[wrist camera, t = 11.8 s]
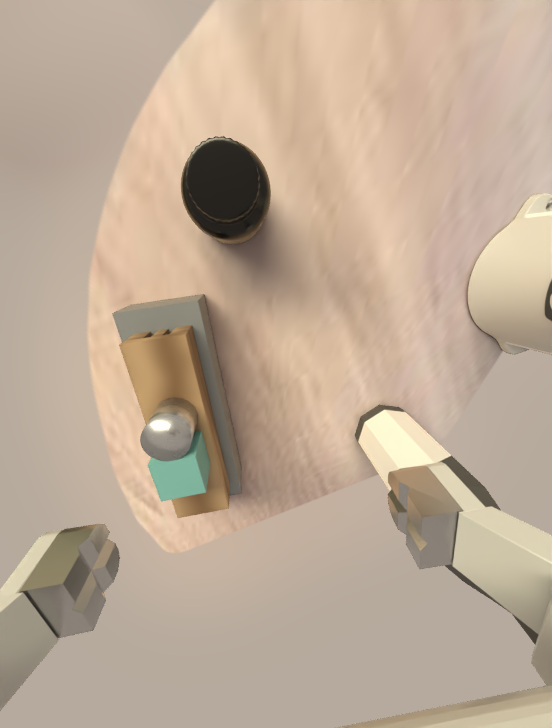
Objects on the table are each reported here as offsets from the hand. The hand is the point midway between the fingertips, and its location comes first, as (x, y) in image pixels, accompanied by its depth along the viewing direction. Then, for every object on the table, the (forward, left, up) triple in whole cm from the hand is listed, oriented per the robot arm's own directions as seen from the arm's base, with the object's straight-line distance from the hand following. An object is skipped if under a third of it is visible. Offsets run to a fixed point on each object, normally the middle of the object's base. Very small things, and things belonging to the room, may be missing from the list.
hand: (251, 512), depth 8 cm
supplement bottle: (-1, -11, -28) cm, 30 cm away
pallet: (+8, +9, -22) cm, 25 cm away
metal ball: (+8, +6, -19) cm, 21 cm away
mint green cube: (+8, +10, -19) cm, 23 cm away
